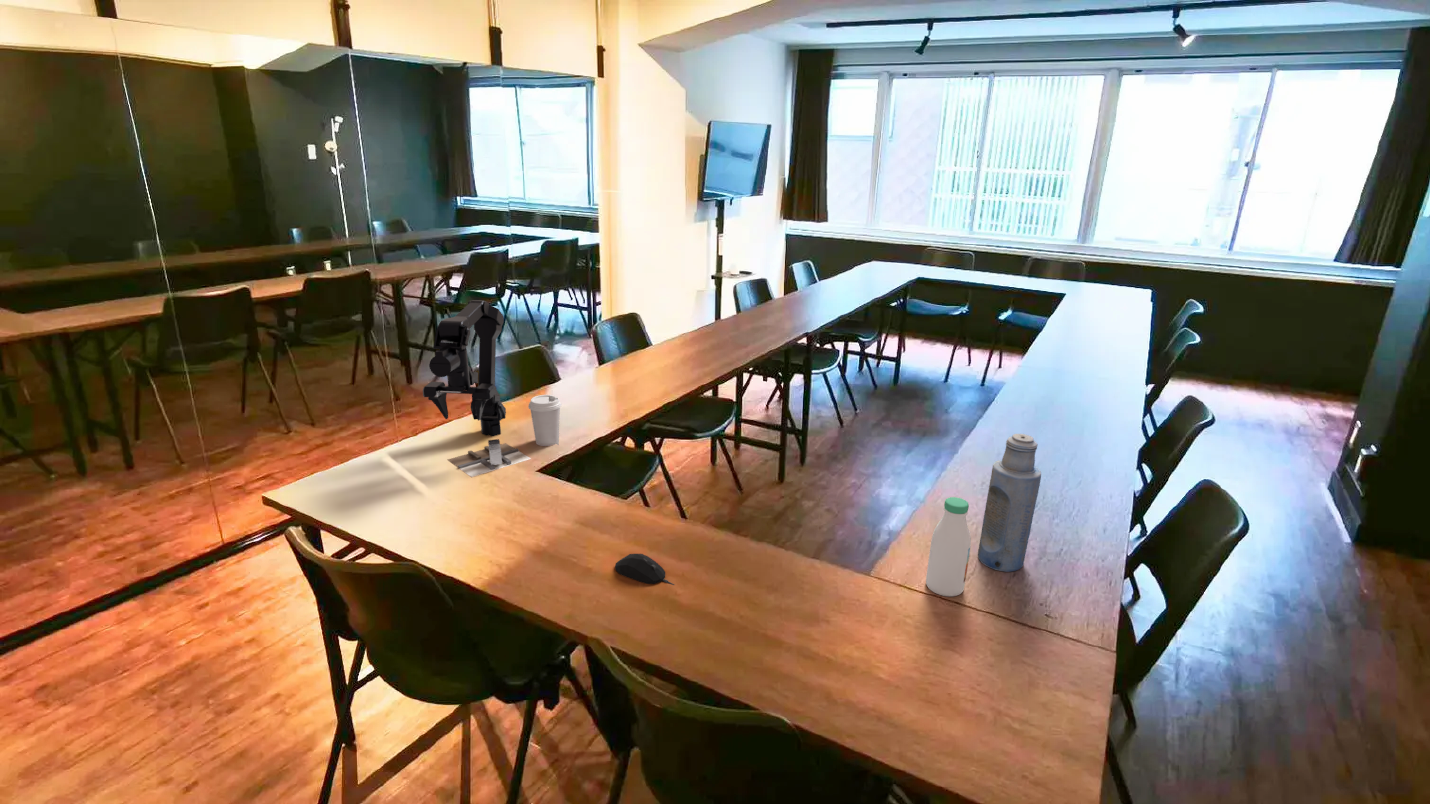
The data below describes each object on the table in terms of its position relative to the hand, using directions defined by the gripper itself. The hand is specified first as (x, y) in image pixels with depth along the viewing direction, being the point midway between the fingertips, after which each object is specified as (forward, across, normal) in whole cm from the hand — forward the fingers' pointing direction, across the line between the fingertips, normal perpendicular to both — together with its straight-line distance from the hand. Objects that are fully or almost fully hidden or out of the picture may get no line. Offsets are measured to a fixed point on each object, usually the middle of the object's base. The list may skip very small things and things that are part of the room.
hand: (463, 419), depth 199 cm
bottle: (+13, -137, +39) cm, 143 cm away
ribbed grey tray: (+13, -7, +1) cm, 15 cm away
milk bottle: (+13, -122, +51) cm, 133 cm away
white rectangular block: (+10, -10, +3) cm, 15 cm away
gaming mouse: (+14, -59, +51) cm, 80 cm away
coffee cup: (+13, -19, -14) cm, 27 cm away
